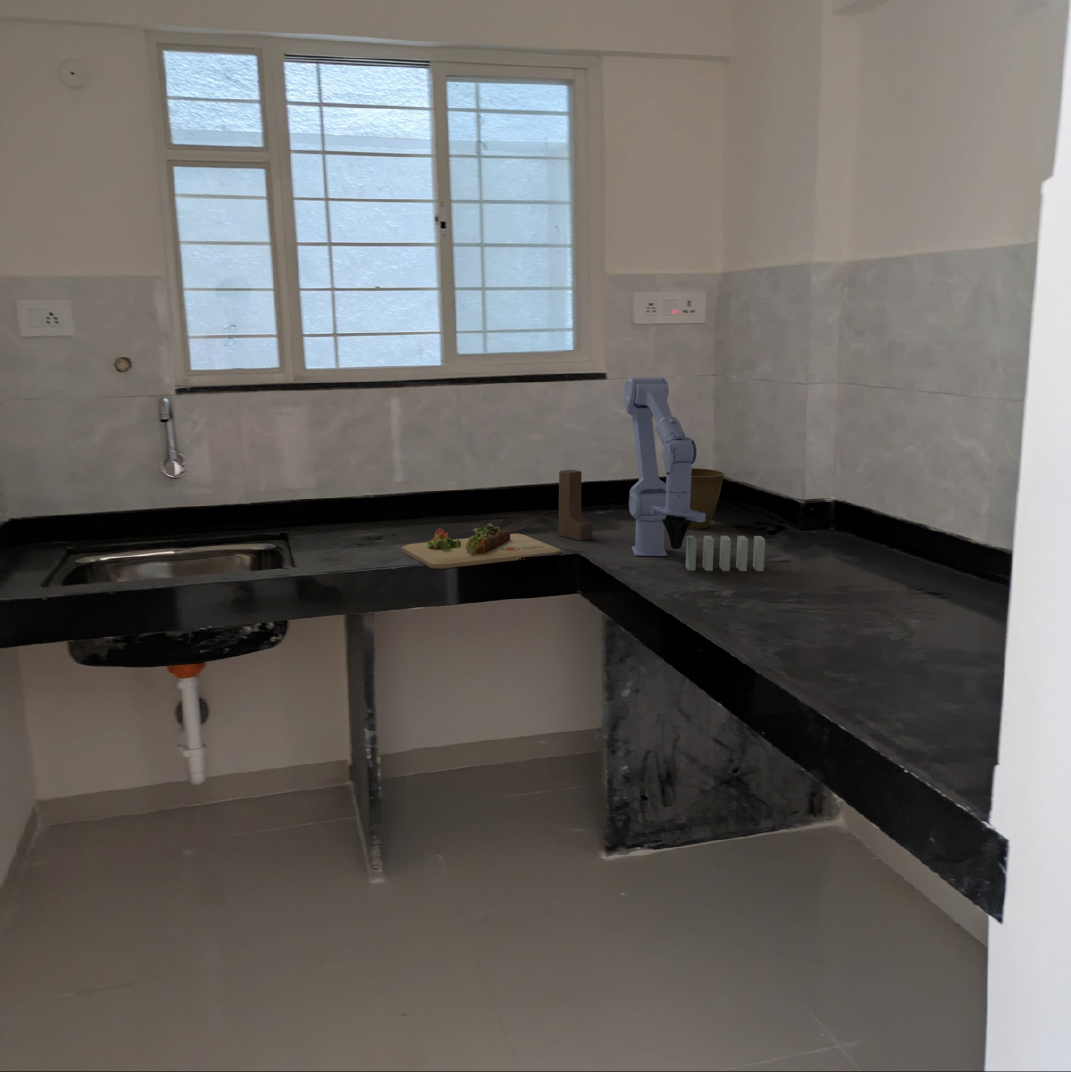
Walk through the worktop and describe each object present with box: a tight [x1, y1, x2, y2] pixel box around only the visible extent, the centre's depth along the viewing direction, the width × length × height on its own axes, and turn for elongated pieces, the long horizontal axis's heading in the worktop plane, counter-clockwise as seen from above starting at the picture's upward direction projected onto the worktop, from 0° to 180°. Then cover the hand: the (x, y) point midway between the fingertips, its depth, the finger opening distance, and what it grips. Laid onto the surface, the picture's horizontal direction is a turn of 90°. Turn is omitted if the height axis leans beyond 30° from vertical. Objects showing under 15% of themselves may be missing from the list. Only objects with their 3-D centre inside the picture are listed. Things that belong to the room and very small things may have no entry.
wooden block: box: [558, 469, 593, 542], centre depth 265 cm, size 9×4×18 cm, turn 41°
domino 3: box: [718, 535, 732, 572], centre depth 232 cm, size 4×2×8 cm, turn 0°
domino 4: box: [735, 535, 749, 572], centre depth 232 cm, size 4×2×8 cm, turn 0°
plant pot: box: [688, 467, 725, 530], centre depth 280 cm, size 15×15×16 cm
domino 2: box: [702, 535, 715, 572], centre depth 232 cm, size 4×2×8 cm, turn 0°
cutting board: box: [400, 523, 562, 570], centre depth 248 cm, size 35×23×8 cm
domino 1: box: [685, 535, 697, 572], centre depth 232 cm, size 4×2×8 cm, turn 1°
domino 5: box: [752, 535, 766, 572], centre depth 232 cm, size 4×2×8 cm, turn 0°
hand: (676, 548), depth 232 cm, fingers closed
